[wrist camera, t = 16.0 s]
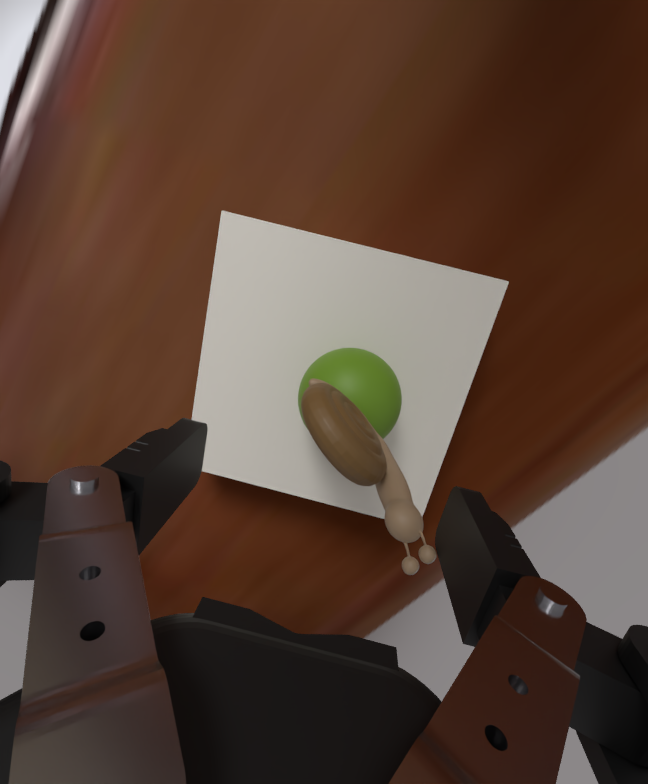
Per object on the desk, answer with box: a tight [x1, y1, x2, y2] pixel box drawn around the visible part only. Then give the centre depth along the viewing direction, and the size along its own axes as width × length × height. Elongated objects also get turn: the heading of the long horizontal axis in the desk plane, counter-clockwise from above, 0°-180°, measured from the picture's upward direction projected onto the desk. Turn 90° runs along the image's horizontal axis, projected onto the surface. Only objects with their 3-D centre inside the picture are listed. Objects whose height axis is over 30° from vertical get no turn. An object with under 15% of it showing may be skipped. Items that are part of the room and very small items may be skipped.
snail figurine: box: [298, 348, 436, 575], centre depth 17 cm, size 5×6×12 cm
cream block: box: [192, 211, 509, 519], centre depth 25 cm, size 16×16×5 cm
